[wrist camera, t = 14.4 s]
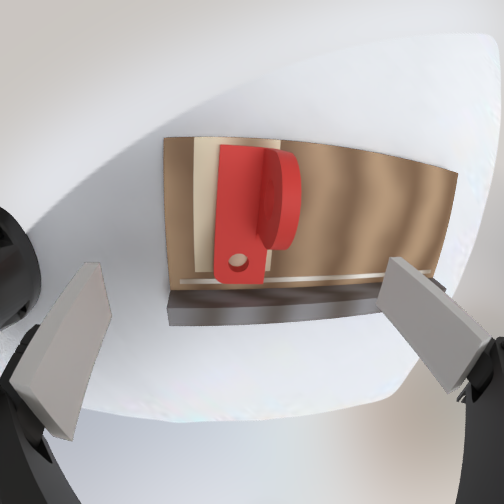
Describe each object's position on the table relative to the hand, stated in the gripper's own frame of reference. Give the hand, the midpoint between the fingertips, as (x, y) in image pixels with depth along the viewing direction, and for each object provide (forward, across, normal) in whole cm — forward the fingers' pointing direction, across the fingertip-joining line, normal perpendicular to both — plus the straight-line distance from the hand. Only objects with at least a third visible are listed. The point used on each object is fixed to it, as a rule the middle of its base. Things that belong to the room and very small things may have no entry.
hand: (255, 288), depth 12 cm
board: (+15, +10, -2) cm, 18 cm away
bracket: (+13, +1, -1) cm, 13 cm away
